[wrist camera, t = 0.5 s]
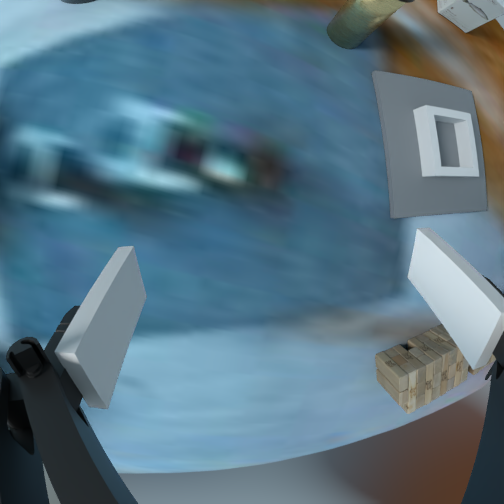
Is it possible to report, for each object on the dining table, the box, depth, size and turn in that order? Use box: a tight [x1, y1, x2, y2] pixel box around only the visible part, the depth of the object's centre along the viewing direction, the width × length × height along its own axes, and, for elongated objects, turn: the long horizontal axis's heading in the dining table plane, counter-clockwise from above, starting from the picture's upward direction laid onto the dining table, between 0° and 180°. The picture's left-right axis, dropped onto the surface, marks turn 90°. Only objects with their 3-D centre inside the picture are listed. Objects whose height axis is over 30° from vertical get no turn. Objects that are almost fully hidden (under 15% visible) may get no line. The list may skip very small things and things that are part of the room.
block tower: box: [375, 324, 496, 414], centre depth 39 cm, size 8×8×29 cm
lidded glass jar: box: [327, 0, 414, 49], centre depth 26 cm, size 6×6×16 cm
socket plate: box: [372, 71, 487, 218], centre depth 36 cm, size 20×20×4 cm
